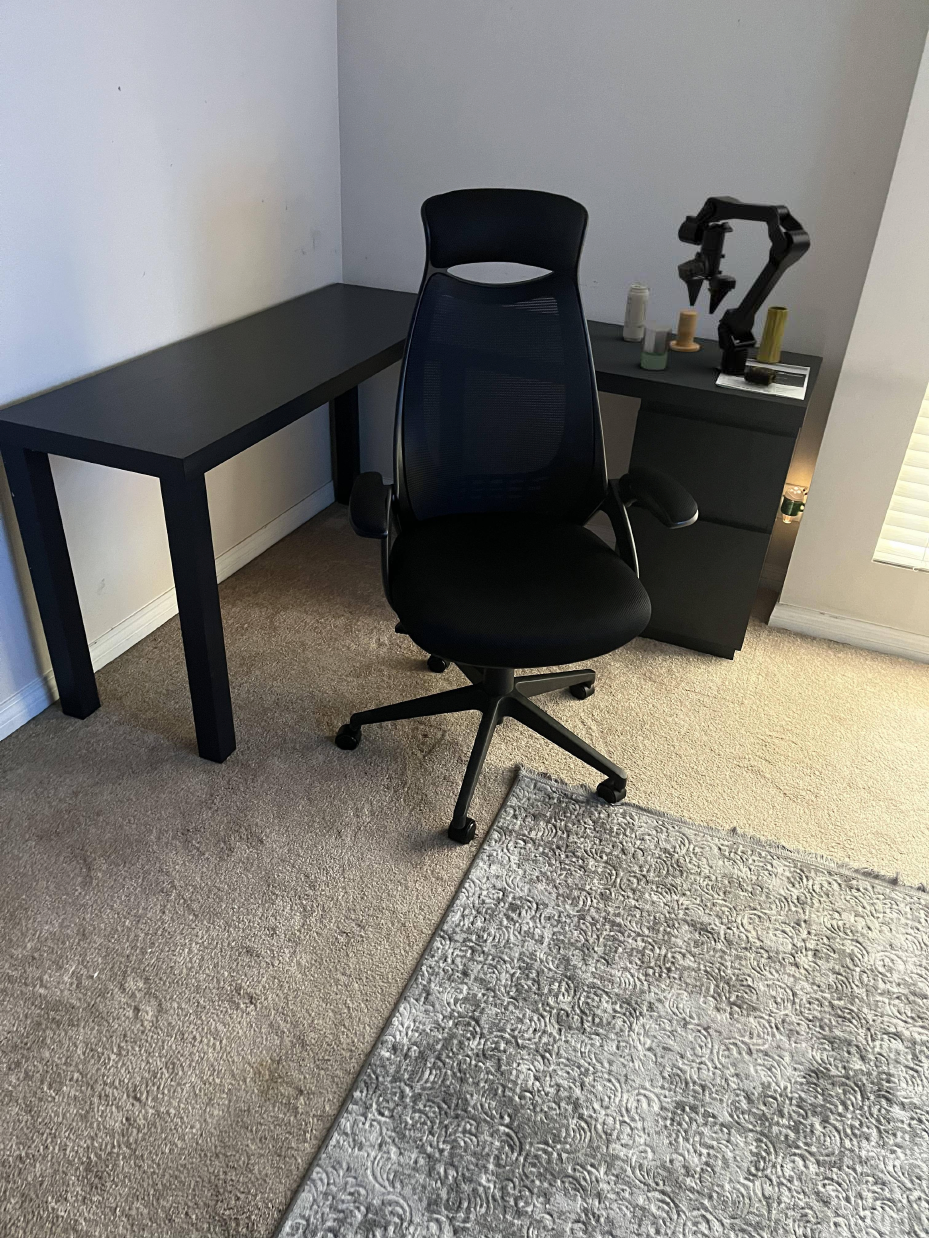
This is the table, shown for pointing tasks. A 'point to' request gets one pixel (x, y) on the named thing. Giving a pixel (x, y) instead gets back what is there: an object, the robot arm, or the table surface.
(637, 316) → the energy drink can
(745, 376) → the tape measure
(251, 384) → the table surface
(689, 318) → the peg
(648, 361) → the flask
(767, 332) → the vase
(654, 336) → the cap
